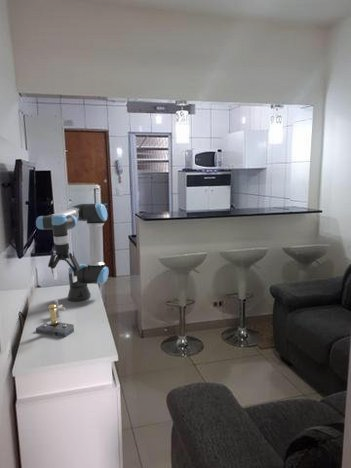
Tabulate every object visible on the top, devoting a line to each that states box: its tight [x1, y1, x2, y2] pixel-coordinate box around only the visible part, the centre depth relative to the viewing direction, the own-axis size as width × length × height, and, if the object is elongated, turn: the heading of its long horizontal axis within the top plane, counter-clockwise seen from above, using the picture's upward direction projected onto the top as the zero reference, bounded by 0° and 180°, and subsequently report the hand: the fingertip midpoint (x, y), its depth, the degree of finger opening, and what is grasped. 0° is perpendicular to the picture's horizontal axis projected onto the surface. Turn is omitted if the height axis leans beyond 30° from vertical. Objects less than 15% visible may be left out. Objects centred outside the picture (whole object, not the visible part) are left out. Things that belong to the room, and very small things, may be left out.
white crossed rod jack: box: [48, 300, 66, 318], centre depth 213 cm, size 10×10×10 cm
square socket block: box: [35, 321, 75, 338], centre depth 193 cm, size 7×20×5 cm, turn 67°
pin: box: [48, 303, 58, 327], centre depth 192 cm, size 4×4×15 cm
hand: (65, 280), depth 198 cm, fingers open, 13 cm apart
